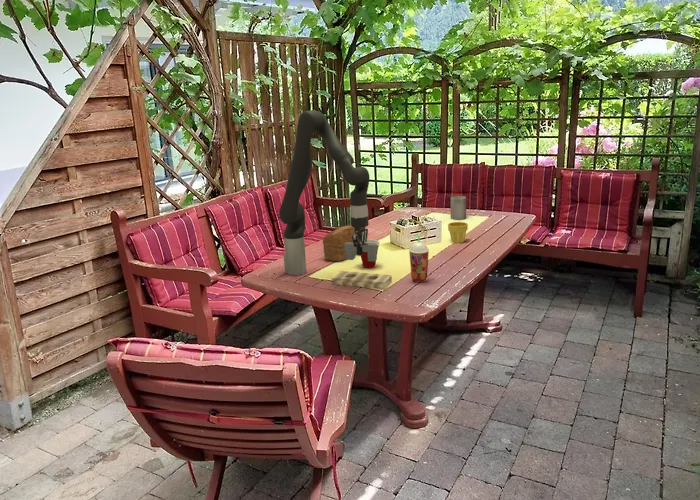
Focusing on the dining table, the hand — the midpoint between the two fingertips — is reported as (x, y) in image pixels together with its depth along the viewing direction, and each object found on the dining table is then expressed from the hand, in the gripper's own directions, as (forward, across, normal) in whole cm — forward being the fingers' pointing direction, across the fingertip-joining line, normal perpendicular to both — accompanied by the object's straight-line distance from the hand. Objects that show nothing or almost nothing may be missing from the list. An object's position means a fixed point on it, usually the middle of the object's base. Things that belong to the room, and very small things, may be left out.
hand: (361, 254), depth 244 cm
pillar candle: (+14, -132, +15) cm, 133 cm away
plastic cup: (+13, -23, -5) cm, 27 cm away
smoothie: (+13, -10, +23) cm, 28 cm away
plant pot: (+14, -77, +26) cm, 82 cm away
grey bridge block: (+2, 0, 0) cm, 2 cm away
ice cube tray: (+13, 0, 0) cm, 13 cm away
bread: (+13, -39, -24) cm, 48 cm away
